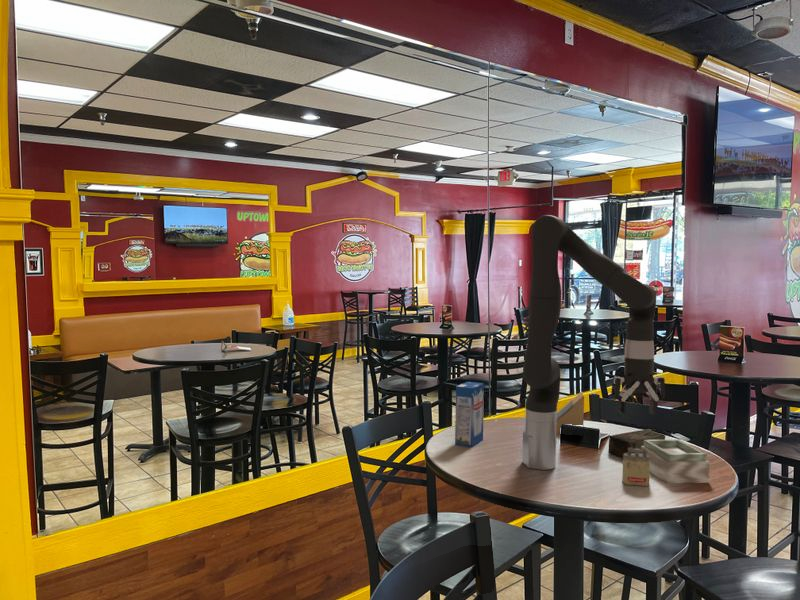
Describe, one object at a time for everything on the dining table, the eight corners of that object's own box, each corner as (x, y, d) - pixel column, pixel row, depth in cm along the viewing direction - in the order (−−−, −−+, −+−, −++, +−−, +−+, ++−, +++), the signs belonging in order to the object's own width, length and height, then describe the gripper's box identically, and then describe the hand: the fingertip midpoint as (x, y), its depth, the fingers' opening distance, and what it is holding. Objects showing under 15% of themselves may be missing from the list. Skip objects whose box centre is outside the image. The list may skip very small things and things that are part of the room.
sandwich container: (539, 427, 213) (539, 388, 213) (581, 430, 210) (582, 390, 209) (539, 433, 205) (540, 393, 204) (583, 436, 202) (584, 395, 201)
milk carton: (472, 447, 187) (472, 388, 186) (455, 444, 191) (455, 386, 190) (483, 440, 196) (484, 383, 195) (466, 437, 199) (467, 381, 198)
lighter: (623, 484, 155) (624, 449, 155) (620, 480, 159) (621, 445, 158) (650, 487, 154) (651, 451, 153) (647, 482, 157) (648, 447, 157)
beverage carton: (666, 452, 185) (666, 432, 185) (627, 461, 175) (628, 441, 175) (645, 445, 192) (645, 426, 191) (606, 454, 182) (607, 434, 182)
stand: (667, 483, 156) (668, 455, 156) (640, 465, 171) (641, 439, 171) (708, 482, 157) (709, 454, 157) (678, 464, 172) (679, 438, 172)
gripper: (656, 354, 159) (655, 410, 160) (608, 354, 158) (606, 411, 159) (671, 358, 151) (669, 417, 152) (620, 358, 150) (618, 417, 151)
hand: (637, 414), depth 155 cm, fingers open, 8 cm apart
